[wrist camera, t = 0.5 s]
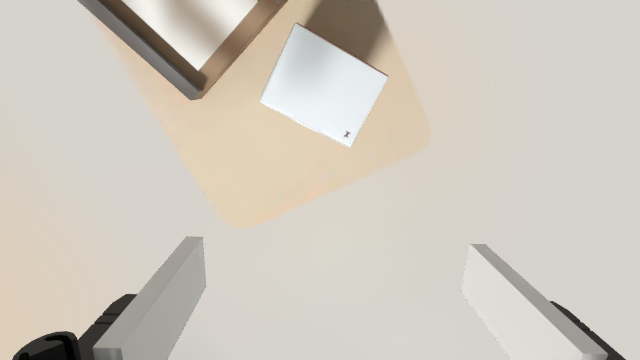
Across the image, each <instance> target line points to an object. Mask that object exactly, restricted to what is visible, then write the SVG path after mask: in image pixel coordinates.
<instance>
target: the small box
mask: <svg viewBox="0 0 640 360" xmlns="http://www.w3.org/2000/svg"><path fill="white" fill-rule="evenodd" d="M387 79H388V75H386V74H384V73H383V72H381V71H379V70H378V69H376V68H374V67H373V66H371V65H369V64H368V63H366V62H364V61H362V60H361V59H359V58H357V57H355V56H354V55H352V54H350V53H349V52H347V51H345V50H343V49H342V48H340V47H338V46H337V45H335V44H333V43H331V42H330V41H328V40H326V39H324V38H323V37H321V36H319V35H317V34H316V33H314V32H312V31H311V30H309V29H307V28H305V27H304V26H302V25H300V24H298V23H295V24H294V26H293V28H292V30H291V33H290V35H289V37H288V39H287V41H286V43H285V45H284V47H283V50H282V52H281V54H280V56H279V58H278V60H277V62H276V64H275V67H274V69H273V71H272V73H271V75H270V77H269V79H268V81H267V84H266V86H265V88H264V90H263V92H262V94H261V96H260V99H259V101H260V102H261V103H262V104H264V105H266V106H268V107H270V108H272V109H273V110H275V111H277V112H279V113H281V114H283V115H285V116H287V117H289V118H290V119H292V120H294V121H296V122H298V123H300V124H302V125H303V126H305V127H307V128H309V129H311V130H313V131H315V132H317V133H320V134H322V135H324V136H326V137H328V138H330V139H332V140H334V141H336V142H338V143H341V144H343V145H345V146H347V147H349V148H351V146H352V144H353V142H354V140H355V139H356V137H357V135H358V133H359V131H360V129H361V127H362V125H363V123H364V121H365V119H366V117H367V116H368V114H369V112H370V110H371V108H372V106H373V104H374V102H375V101H376V99H377V97H378V95H379V93H380V92H381V90H382V88H383V86H384V84H385V82H386V80H387Z"/></svg>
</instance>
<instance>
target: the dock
mask: <svg viewBox="0 0 640 360" xmlns="http://www.w3.org/2000/svg"><path fill="white" fill-rule="evenodd" d="M78 1H79V2H80V3H81V4H82V5H83V6H84V7H86V8H87V9H88V10H89V11H90V12H91V13H92V14H93V15H95V16H96V17H97V18H98V19H99V20H100V21H101V22H103V23H104V24H105V25H106V26H107V27H108V28H109V29H110V30H112V31H113V32H114V33H115V34H116V35H117V36H118V37H119V38H121V39H122V40H123V41H124V42H125V43H126V44H127V45H128V46H130V47H131V48H132V49H133V50H134V51H135V52H136V53H138V54H139V55H140V56H141V57H142V58H143V59H144V60H145V61H147V62H148V63H149V64H150V65H151V66H152V67H153V68H154V69H156V70H157V71H158V72H159V73H160V74H161V75H162V76H164V77H165V78H166V79H167V80H168V81H169V82H170V83H171V84H173V85H174V86H175V87H176V88H177V89H178V90H179V91H180V92H182V93H183V94H184V95H185V96H186V97H187V98H188V99H190V100H196V99H202V97H203V96H204V95H205V94H206V93H207V92H208V91H209V89H210V88H211V87H212V86H213V85H214V84H215V83H216V82H217V80H218V79H219V78H220V77H221V76H222V75H223V74H224V72H225V71H226V70H227V69H228V68H229V67H230V66H231V64H232V63H233V62H234V61H235V60H236V59H237V58H238V57H239V55H240V54H241V53H242V52H243V51H244V50H245V49H246V47H247V46H248V45H249V44H250V43H251V42H252V41H253V40H254V38H255V37H256V36H257V35H258V34H259V33H260V32H261V30H262V29H263V28H264V27H265V26H266V25H267V24H268V22H269V21H270V20H271V19H272V18H273V17H274V16H275V15H276V13H277V12H278V11H279V10H280V9H281V8H282V7H283V5H284V4H285V3H286V2H287V1H288V0H78Z"/></svg>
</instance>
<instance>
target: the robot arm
mask: <svg viewBox="0 0 640 360" xmlns="http://www.w3.org/2000/svg"><path fill="white" fill-rule="evenodd" d="M205 288H206V279H205V265H204V250H203V237H186V238H185V239H184V240H183V241H182V242H181V244H180V245H179V246H178V247H177V248H176V250H175V251H174V252H173V253H172V254H171V255H170V257H169V258H168V259H167V260H166V261H165V263H164V264H163V265H162V266H161V267H160V268H159V270H158V271H157V272H156V273H155V274H154V276H153V277H152V278H151V279H150V280H149V281H148V283H147V284H146V285H145V286H144V287H143V289H142V290H141V291H140V292H139V293H138V294H126V295H124V296H122V297H121V298H120V299H118V300H116V301H115V302H113V303H112V304H111V305H110V306H109V307H108V308H107V309H106V311H104V313H103V315H102V316H100V317H99V318H98V319H97V320H96V321H95V323H94V324H93V325H91V326H90V328H89V329H88V330H87V331H86V332H85V333H84V334H83V335H82V336H81V337H80V338H79V339H78V340H77V337H76V336H75V335H74V333H71V332H67V331H65V332H55V333H51V334H47V335H44V336H42V337H40V338H37V339H35V340H33V341H31V342H30V343H28V344H27V345H25V346H24V347H22V348H21V349H20V350H19V351H18V352H17V353H16V355H14V357H13V359H12V360H167V359H168V357H169V355H170V353H171V351H172V349H173V348H174V346H175V344H176V342H177V340H178V338H179V336H180V335H181V333H182V331H183V329H184V327H185V325H186V323H187V321H188V319H189V317H190V316H191V314H192V312H193V310H194V308H195V306H196V304H197V303H198V301H199V299H200V297H201V295H202V293H203V291H204V289H205ZM461 293H462V294H463V295H464V297H465V298H466V299H467V301H468V302H469V303H470V305H471V306H472V307H473V309H474V310H475V312H476V313H477V314H478V316H479V317H480V318H481V320H482V321H483V322H484V324H485V325H486V326H487V328H488V329H489V330H490V332H491V333H492V334H493V336H494V337H495V339H496V340H497V341H498V343H499V344H500V345H501V347H502V348H503V349H504V351H505V352H506V353H507V355H508V356H509V358H510V359H511V360H626V359H624V358H623V357H622V356H621V355H620V354H619V353H617V352H616V351H615V350H614V349H613V348H611V347H610V346H609V345H608V344H607V343H606V342H605V341H603V340H602V339H601V338H600V337H599V336H598V335H596V334H595V333H594V332H593V331H590V329H589V328H588V327H587V326H586V325H585V324H584V323H582V322H580V320H579V319H578V318H577V317H576V316H574V315H573V314H572V313H571V312H570V311H568V310H567V309H565V308H564V307H562V306H560V305H558V304H557V303H555V302H553V301H548V300H547V299H546V298H545V297H544V296H543V295H541V294H540V293H539V292H538V291H537V290H536V289H535V288H534V287H532V286H531V285H530V284H529V283H528V282H527V281H526V280H525V279H523V278H522V277H521V276H520V275H519V274H518V273H517V272H516V271H515V270H513V269H512V268H511V267H510V266H509V265H508V264H507V263H506V262H504V261H503V260H502V259H501V258H500V257H499V256H498V255H497V254H495V253H494V252H493V251H492V250H491V249H490V248H489V247H487V245H485V244H470V248H469V253H468V258H467V263H466V268H465V273H464V278H463V283H462V288H461Z"/></svg>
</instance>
